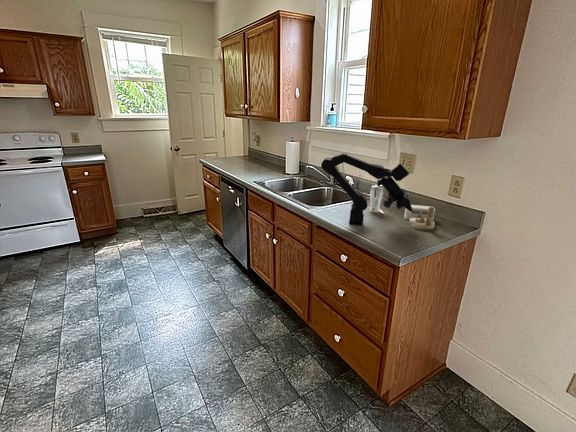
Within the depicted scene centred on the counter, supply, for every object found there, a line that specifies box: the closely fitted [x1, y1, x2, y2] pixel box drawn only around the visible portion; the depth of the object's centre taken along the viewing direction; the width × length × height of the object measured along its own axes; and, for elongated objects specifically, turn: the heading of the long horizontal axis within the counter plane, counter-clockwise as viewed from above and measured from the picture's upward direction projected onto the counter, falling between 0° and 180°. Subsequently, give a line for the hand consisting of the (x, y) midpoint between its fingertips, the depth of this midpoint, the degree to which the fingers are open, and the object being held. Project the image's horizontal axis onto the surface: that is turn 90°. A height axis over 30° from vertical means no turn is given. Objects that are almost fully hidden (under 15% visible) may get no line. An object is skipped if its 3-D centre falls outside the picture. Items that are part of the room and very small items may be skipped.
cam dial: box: [408, 206, 436, 231], centre depth 158 cm, size 12×12×12 cm
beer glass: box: [368, 183, 384, 214], centre depth 178 cm, size 7×7×15 cm
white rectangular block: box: [403, 204, 436, 221], centre depth 168 cm, size 14×6×7 cm, turn 77°
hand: (411, 210), depth 154 cm, fingers closed
